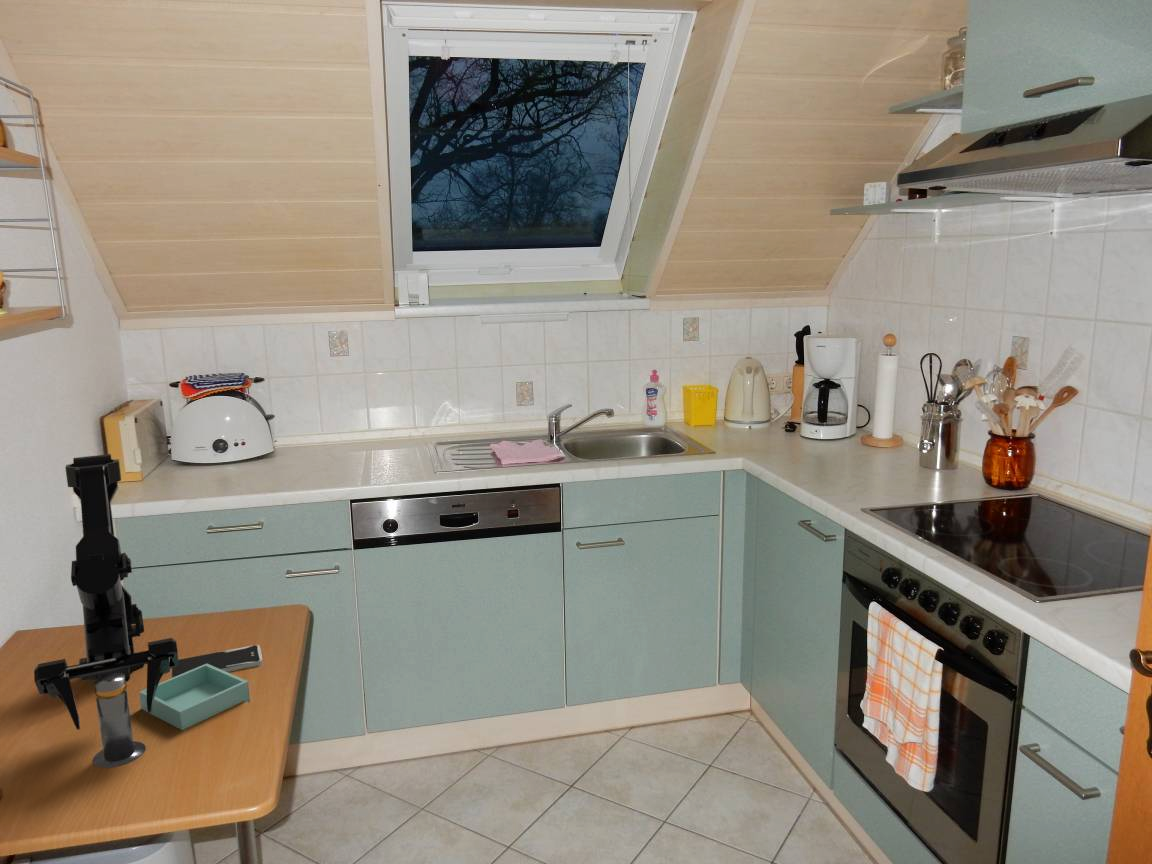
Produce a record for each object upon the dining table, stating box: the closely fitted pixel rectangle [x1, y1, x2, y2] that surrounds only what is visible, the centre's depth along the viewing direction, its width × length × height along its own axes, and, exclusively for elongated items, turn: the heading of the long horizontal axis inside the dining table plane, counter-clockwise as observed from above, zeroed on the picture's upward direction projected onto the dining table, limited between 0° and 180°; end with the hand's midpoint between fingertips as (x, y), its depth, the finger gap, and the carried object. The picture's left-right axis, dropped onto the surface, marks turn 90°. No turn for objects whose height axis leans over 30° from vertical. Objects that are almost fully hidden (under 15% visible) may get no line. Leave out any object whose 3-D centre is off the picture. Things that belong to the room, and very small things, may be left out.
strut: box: [93, 673, 135, 762], centre depth 127 cm, size 4×4×12 cm
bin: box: [138, 664, 251, 731], centre depth 142 cm, size 12×12×4 cm
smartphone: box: [172, 644, 264, 678], centre depth 157 cm, size 8×1×15 cm
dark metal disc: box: [92, 740, 147, 769], centre depth 128 cm, size 7×7×1 cm
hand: (114, 720), depth 125 cm, fingers open, 9 cm apart
